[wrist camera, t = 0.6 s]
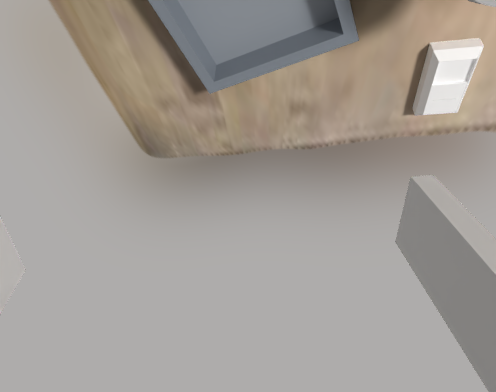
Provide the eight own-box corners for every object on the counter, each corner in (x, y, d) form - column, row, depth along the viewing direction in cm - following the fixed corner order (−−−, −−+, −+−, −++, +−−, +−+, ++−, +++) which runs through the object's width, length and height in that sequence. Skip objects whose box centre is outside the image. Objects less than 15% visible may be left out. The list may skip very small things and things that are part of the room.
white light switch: (411, 105, 48) (416, 120, 47) (429, 40, 41) (435, 55, 40) (453, 102, 48) (459, 117, 46) (478, 35, 40) (486, 50, 39)
